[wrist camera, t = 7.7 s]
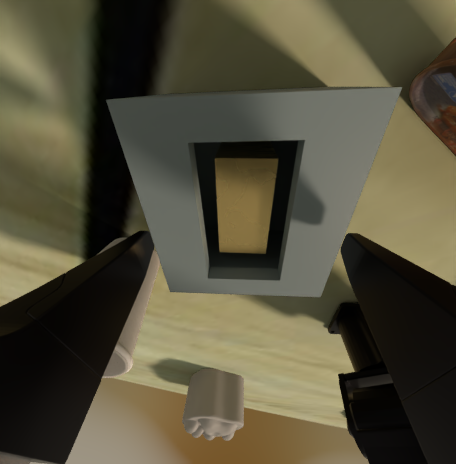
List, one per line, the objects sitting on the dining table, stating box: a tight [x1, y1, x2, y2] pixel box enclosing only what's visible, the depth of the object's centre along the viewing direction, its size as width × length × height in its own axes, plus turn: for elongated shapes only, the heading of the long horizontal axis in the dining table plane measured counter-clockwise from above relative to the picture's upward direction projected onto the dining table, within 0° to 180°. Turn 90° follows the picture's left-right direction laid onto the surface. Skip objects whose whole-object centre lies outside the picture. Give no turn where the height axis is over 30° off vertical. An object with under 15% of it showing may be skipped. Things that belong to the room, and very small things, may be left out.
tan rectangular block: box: [215, 141, 278, 254], centre depth 13 cm, size 6×3×5 cm, turn 1°
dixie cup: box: [97, 238, 160, 378], centre depth 18 cm, size 8×8×10 cm
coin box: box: [106, 87, 402, 297], centre depth 13 cm, size 11×10×7 cm
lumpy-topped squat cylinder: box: [182, 368, 244, 440], centre depth 40 cm, size 10×13×9 cm
